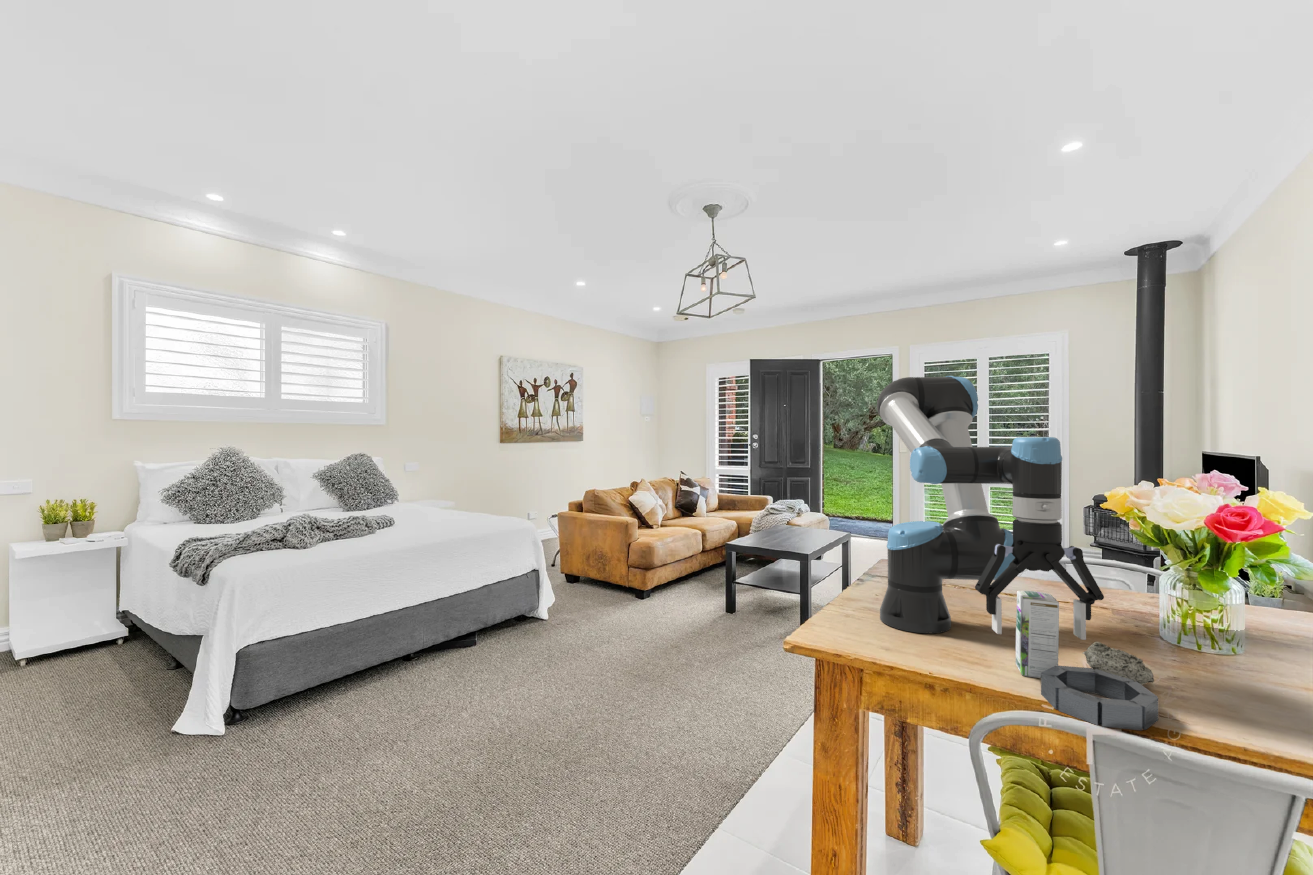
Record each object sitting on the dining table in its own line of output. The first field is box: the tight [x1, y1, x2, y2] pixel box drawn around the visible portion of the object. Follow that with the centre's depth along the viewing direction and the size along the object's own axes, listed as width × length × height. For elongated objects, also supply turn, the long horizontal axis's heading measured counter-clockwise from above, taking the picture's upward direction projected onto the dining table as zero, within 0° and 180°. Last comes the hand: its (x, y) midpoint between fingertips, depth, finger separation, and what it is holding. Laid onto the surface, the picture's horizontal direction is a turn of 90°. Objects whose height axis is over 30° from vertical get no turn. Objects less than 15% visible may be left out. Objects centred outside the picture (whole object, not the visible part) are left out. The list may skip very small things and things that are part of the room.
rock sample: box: [1082, 641, 1155, 686], centre depth 98 cm, size 10×8×9 cm
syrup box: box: [1015, 590, 1060, 679], centre depth 103 cm, size 6×6×14 cm
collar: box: [1040, 665, 1159, 731], centre depth 90 cm, size 14×14×4 cm
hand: (1037, 634), depth 102 cm, fingers open, 13 cm apart
